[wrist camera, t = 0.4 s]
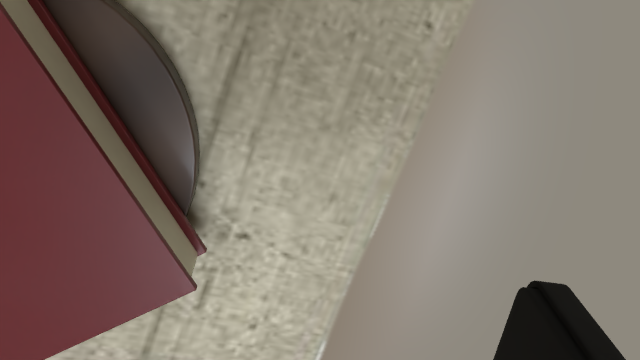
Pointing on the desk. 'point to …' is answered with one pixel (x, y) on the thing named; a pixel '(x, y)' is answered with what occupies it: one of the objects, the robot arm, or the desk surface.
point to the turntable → (137, 87)
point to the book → (75, 201)
